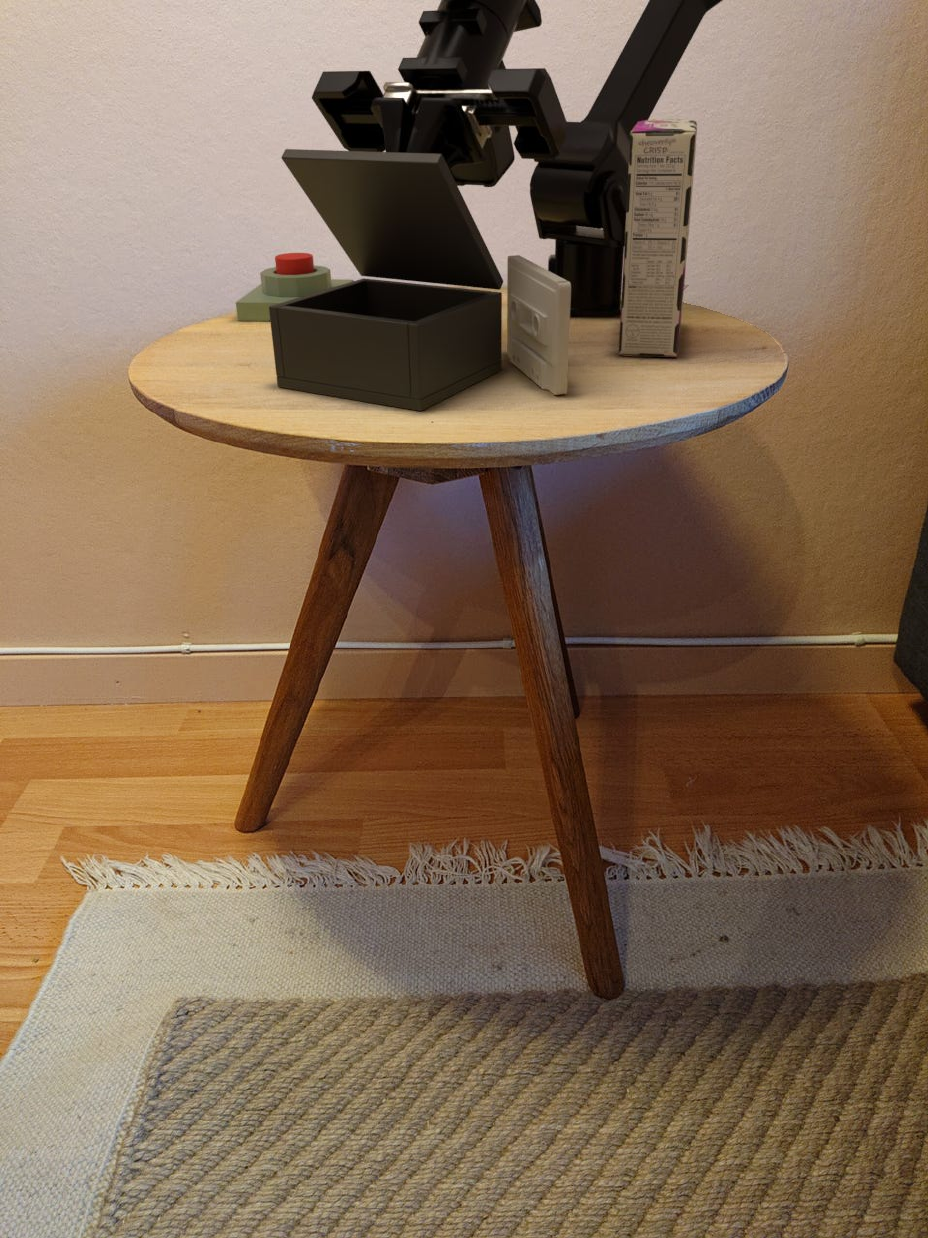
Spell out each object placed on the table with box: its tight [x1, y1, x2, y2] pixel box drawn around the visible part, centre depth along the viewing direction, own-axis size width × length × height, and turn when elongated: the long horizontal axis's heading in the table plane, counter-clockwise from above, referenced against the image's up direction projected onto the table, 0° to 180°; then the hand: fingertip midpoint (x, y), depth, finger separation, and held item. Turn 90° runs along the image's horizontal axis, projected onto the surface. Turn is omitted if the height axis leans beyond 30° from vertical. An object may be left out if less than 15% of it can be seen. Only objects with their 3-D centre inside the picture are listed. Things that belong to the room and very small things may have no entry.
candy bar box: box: [618, 118, 698, 358], centre depth 77 cm, size 11×5×16 cm, turn 168°
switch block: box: [235, 264, 355, 322], centre depth 94 cm, size 11×9×4 cm
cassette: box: [506, 254, 571, 396], centre depth 71 cm, size 12×2×8 cm, turn 15°
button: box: [274, 252, 315, 275], centre depth 93 cm, size 4×4×2 cm
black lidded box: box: [269, 277, 503, 412], centre depth 71 cm, size 12×13×6 cm
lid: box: [281, 148, 504, 291], centre depth 69 cm, size 12×13×1 cm
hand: (395, 211), depth 68 cm, fingers closed, pressing on lid
